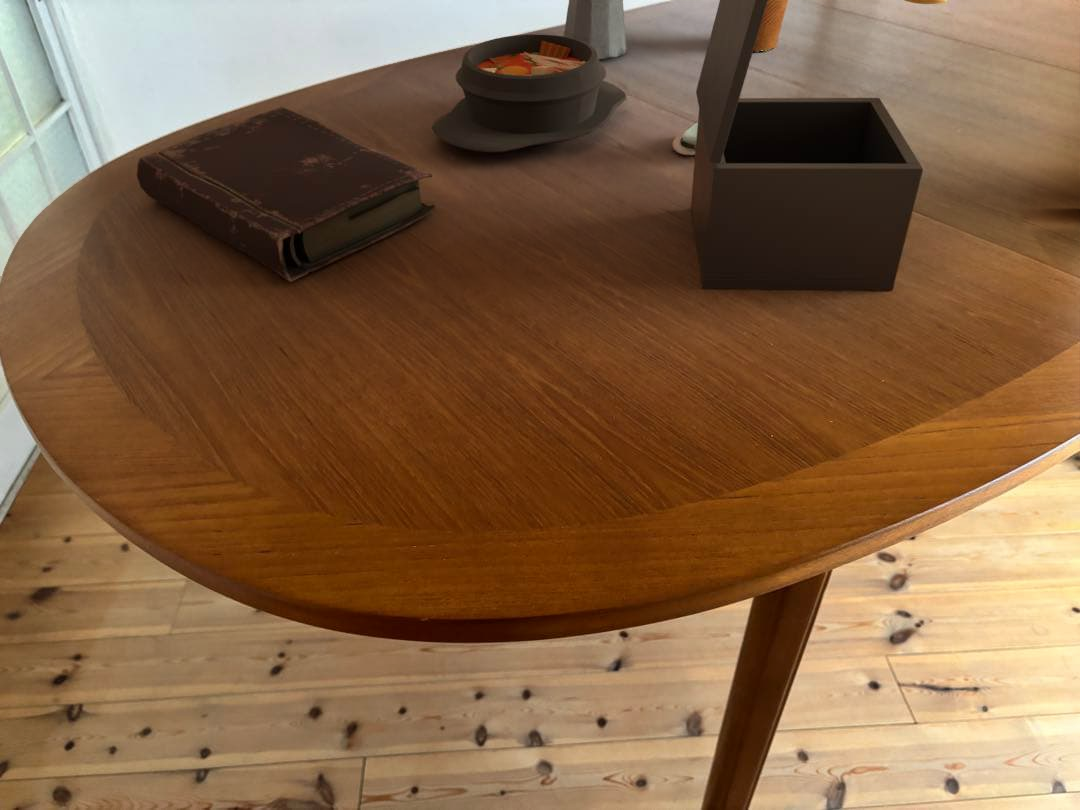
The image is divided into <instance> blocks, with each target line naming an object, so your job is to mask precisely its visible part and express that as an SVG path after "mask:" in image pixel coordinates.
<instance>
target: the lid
mask: <svg viewBox="0 0 1080 810" xmlns="http://www.w3.org/2000/svg"><path fill="white" fill-rule="evenodd" d="M767 2H768V0H719V3H718V6H717V10H716V12H715V13H716V14H715V17H714V21H713V25H712V28H711V29H712V30H711V33H710V37H709V41H708V43H707V44H708V45H707V49H706V52H705V55H704V60H703V64H702V68H701V70H700V75H699V79H698V83H697V86H696V90H695V93H696V99H697V103H698V110H699V109H700V114H701V119H702V124H703V129H704V134H705V139H706V144H707V149H708V154H709V159H710V162H716V163H720V162H721V159H722V156H723V152H724V149H725V145H726V142H727V139H728V135H729V132H730V128H731V125H732V121H733V118H734V115H735V111H736V108H737V104H738V101H739V98H741V95H742V90H743V87H744V84H745V80H746V77H747V75H748V74H747V73H748V70H749V67H750V63H751V60H752V57H753V53H754V52H753V50H754V46H755V43H756V39H757V36H758V33H759V29H760V26H761V22H762V19H763V16H764V12H765V9H766V5H767Z"/></svg>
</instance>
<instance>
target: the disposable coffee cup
mask: <svg viewBox="0 0 1080 810" xmlns="http://www.w3.org/2000/svg"><path fill="white" fill-rule="evenodd" d="M788 3H789V0H768V2H767V5H766V9H765V12H764V16H763V19H762V22H761V26H760V29H759V33H758V36H757V39H756V43H755V46H754V50H753V51H761V50H763V51H764V50H769V49H772V48H774V47H775V46H776V47H777V46H778V45H777V44H778V40H779V36H780V33H781V28H782V25H783V22H784V18H785V14H786V10H787V6H788ZM776 47H775V48H776ZM775 48H774V49H775ZM772 50H773V49H772ZM769 51H770V50H769Z"/></svg>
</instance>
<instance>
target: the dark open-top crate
mask: <svg viewBox="0 0 1080 810" xmlns="http://www.w3.org/2000/svg"><path fill="white" fill-rule="evenodd" d="M697 122H698V128H697V140H696V152H695V155H694V165H693V175H692V189H691V201H690V213H691V219H692V226H693V234H694V241H695V248H696V254H697V261H698V268H699V274H700V283H701V288H702V289H704V290H706V289H707V290H711V289H712V290H791V291H793V290H795V291H796V290H797V291H888V292H889V291H892V292H893V290H894V287H895V284H896V278H897V275H898V271H899V267H900V263H901V259H902V256H903V252H904V247H905V243H906V239H907V235H908V231H909V228H910V223H911V219H912V216H913V211H914V209H915V204H916V201H917V196H918V191H919V189H920V184H921V181H922V176H923V172H924V167H923V166H922V164H921V163H920V161H919V160H918V158H917V156H916V155H915V153H914V151H913V150H912V148H911V147H910V145H909V143H908V141H907V140H906V138H905V137H904V135H903V134H902V132H901V131H900V129H899V128H898V125H897V124H896V122H895V121H894V119H893V118H892V116H891V114H890V113H889V111H888V109H887V108H886V106H885V104H884V103H883V102H882V100H881V98H880V97H740V98H739V101H738V104H737V108H736V111H735V115H734V118H733V121H732V125H731V128H730V132H729V135H728V139H727V142H726V145H725V149H724V152H723V156H722V159H721V162H720V163H716V162H710V159H709V154H708V149H707V144H706V139H705V134H704V129H703V124H702V119H701V114H700V109H699V108H698V119H697Z"/></svg>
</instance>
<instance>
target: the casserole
mask: <svg viewBox="0 0 1080 810" xmlns="http://www.w3.org/2000/svg"><path fill="white" fill-rule="evenodd" d="M606 76H607V70H606V68H605V66H604V65H603V64H602V63H601V61H600V59H599V58H598V55H597V52H596V50H595V49H594V48H593V47H592V46H591V45H589V44H587V43H585V42H583V41H580V40H577V39H573V38H568V37H564V35H563V36H561V35H554V34H518V35H509V36H502V37H497V38H493V39H490V40H486V41H483V42H481V43H478V44H476V45H474V46H472V47H470V48H469V49H468V50H467V51H466V52H465V53H464V54H463V58H462V62H461V66H460V67H459V68H458V70H457V71H456V74H455V82H456V83H457V84H458V86H459V87H460V88H461V89H462V91H463V96H464V97H463V98H461V99H460V100H459V102H457V104H455V105H454V107H452V109H451V110H450V111H448V112H447V113H445V114H444V115H442V116H440V117H439V118H437V120H435V121H434V122H433V124H432V126H431V130H432V132H433V134H434V135H435V136H437V137H438V138H439V140H442V141H443V142H445V143H447V144H449V145H451V146H455V147H458V148H461V149H464V150H470V151H475V152H480V153H489V154H497V153H507V152H512V151H517V150H520V149H524V148H527V147H532V146H538V145H547V144H553V143H560V142H565V141H569V140H573V139H577V138H581V137H583V136H586V135H588V134H590V133H593V132H595V131H596V130H598V129H601V127H603V126H604V125H606V123H608V122H609V120H610V119H611V117H612V115H613V114H614V112H615V110H616V109H618V107H619V106H621V105H622V104H623V103H624V102H625V101H626V100H627V93H625V92H624V91H623V89H621V88H620V87H618V86H616V85H614V84H613V83H610V82H607V81H604V80H605V78H606Z"/></svg>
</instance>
